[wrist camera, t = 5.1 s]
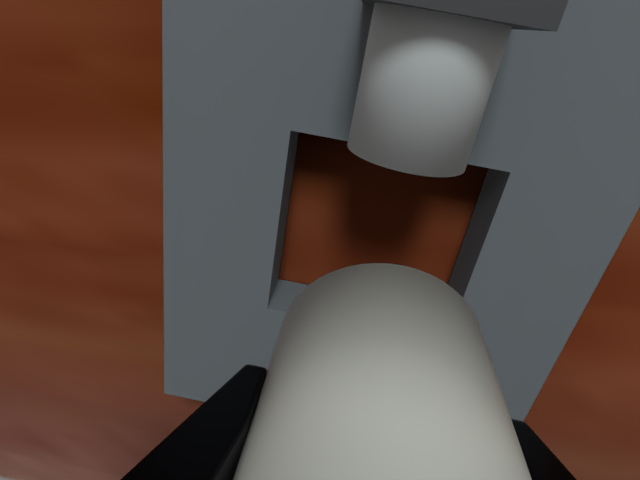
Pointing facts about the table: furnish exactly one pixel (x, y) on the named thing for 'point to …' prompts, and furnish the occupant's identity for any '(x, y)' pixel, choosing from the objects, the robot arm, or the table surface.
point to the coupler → (381, 386)
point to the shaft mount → (396, 158)
